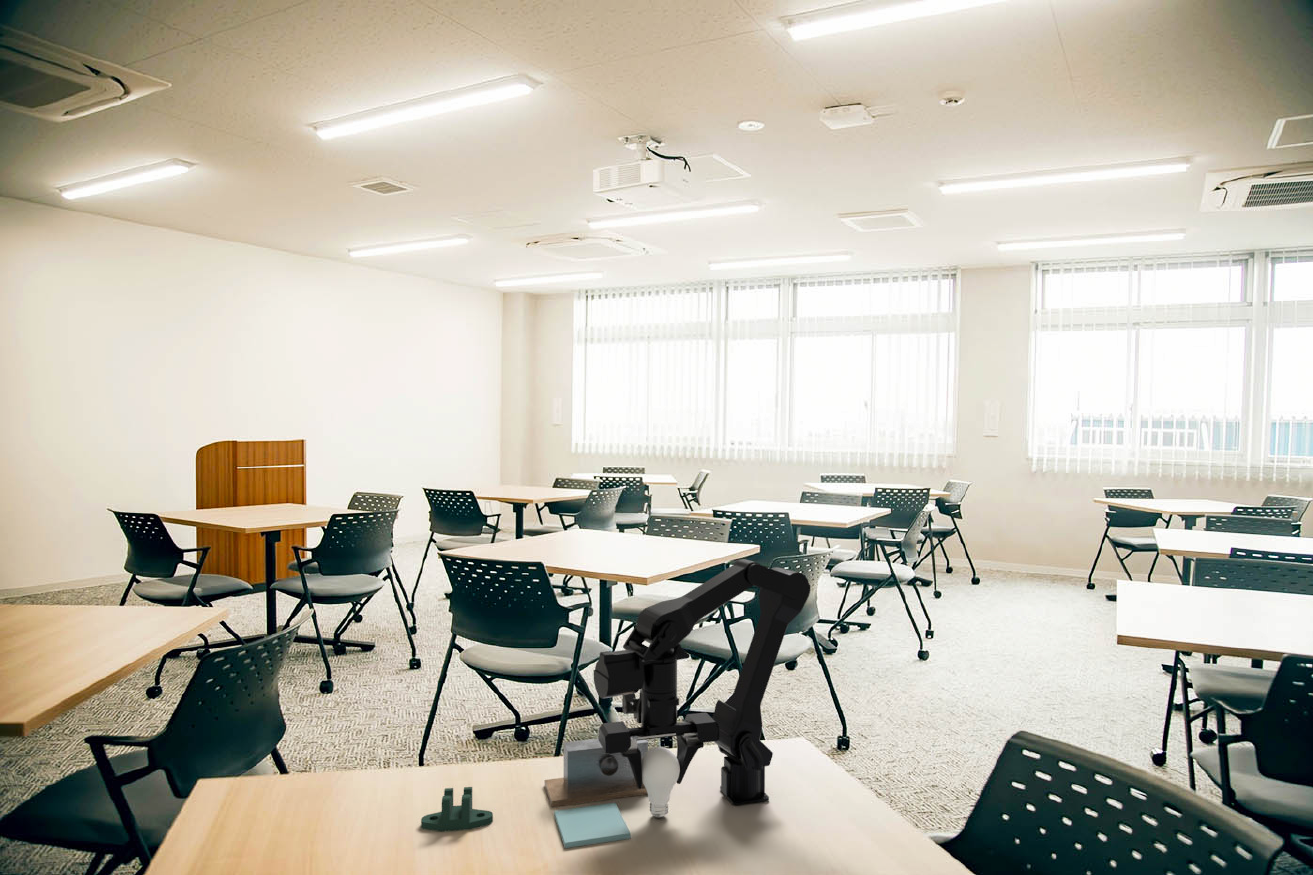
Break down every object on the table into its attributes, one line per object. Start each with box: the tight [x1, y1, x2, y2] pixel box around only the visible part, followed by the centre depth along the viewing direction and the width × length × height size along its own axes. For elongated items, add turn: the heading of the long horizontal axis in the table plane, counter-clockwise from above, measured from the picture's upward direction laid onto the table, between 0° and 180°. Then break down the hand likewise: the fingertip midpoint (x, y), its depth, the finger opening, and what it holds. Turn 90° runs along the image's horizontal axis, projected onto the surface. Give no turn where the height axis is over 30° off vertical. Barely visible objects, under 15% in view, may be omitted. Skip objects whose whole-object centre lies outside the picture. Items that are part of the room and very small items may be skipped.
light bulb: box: [641, 746, 680, 819], centre depth 123 cm, size 7×7×11 cm
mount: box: [420, 786, 494, 833], centre depth 120 cm, size 11×4×5 cm, turn 98°
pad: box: [553, 802, 631, 849], centre depth 119 cm, size 10×10×1 cm
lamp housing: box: [544, 737, 649, 808], centre depth 132 cm, size 20×8×8 cm, turn 106°
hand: (658, 785), depth 123 cm, fingers closed on light bulb, 6 cm apart
